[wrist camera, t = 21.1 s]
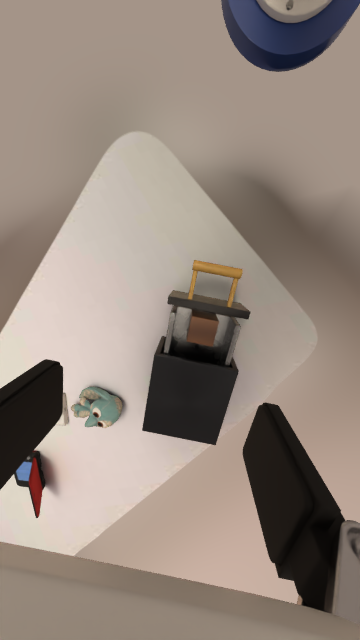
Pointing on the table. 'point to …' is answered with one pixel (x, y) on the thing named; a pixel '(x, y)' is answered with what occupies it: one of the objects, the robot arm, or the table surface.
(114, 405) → the stuffed animal
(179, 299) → the drawer
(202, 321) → the block
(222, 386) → the cabinet
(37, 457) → the handheld console
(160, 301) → the table surface
